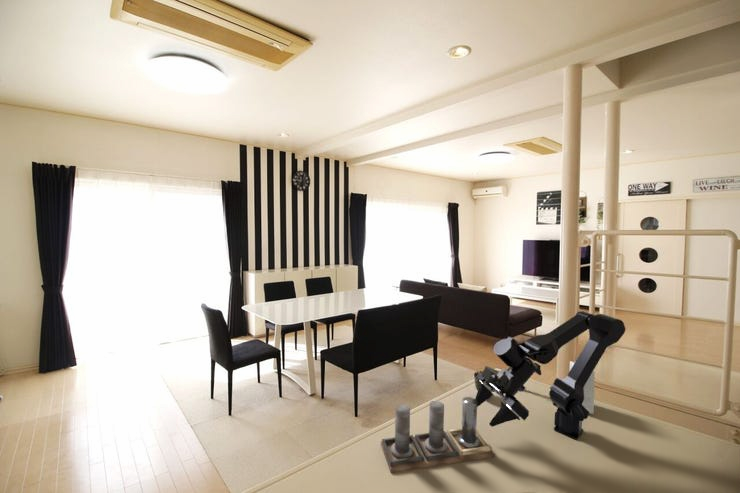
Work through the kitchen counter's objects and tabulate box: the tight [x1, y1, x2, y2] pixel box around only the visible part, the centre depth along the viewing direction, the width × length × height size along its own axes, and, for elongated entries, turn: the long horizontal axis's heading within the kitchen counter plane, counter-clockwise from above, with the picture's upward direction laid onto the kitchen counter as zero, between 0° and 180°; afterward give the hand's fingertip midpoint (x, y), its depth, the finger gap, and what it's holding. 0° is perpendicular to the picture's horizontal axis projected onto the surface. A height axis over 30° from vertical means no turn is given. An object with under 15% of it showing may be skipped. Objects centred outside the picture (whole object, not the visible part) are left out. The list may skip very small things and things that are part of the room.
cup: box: [473, 370, 492, 392], centre depth 123 cm, size 8×7×8 cm
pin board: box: [380, 400, 495, 473], centre depth 94 cm, size 30×11×14 cm, turn 102°
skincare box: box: [569, 360, 596, 415], centre depth 116 cm, size 8×6×15 cm
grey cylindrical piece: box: [458, 396, 480, 449], centre depth 96 cm, size 6×6×12 cm
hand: (481, 415), depth 97 cm, fingers open, 9 cm apart
